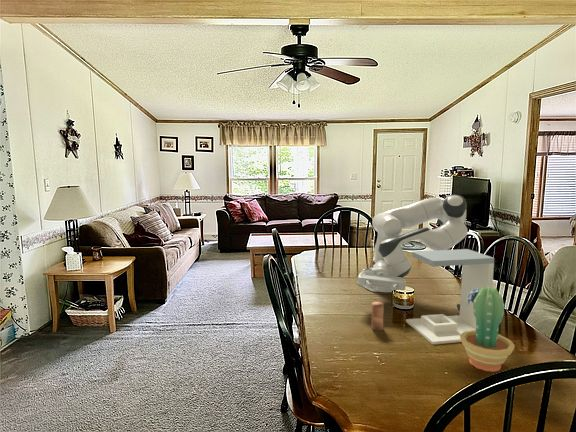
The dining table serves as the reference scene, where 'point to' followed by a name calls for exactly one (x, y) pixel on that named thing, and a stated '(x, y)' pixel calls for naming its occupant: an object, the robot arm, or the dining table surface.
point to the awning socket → (473, 277)
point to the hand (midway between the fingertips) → (381, 287)
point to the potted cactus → (486, 331)
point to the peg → (377, 316)
